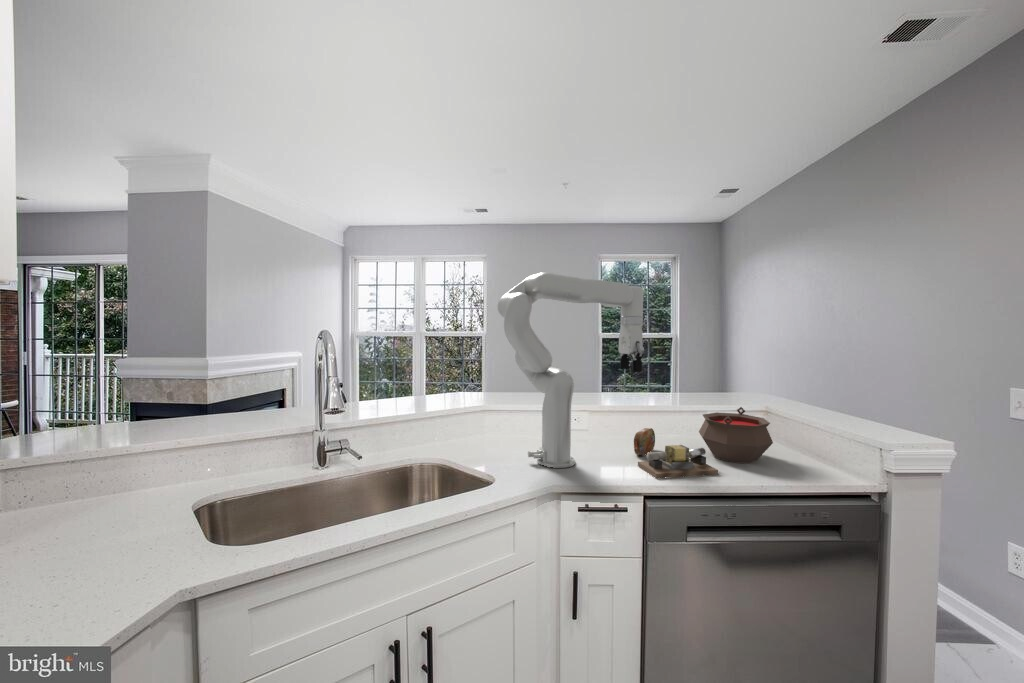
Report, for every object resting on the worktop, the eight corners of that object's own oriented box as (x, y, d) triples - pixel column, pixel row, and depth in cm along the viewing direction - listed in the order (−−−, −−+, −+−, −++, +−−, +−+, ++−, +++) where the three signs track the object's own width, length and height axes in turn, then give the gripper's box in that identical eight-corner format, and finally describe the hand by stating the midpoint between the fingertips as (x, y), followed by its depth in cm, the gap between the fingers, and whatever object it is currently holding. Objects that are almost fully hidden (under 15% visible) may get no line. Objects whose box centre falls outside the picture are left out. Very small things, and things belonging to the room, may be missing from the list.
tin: (640, 458, 158) (640, 434, 157) (631, 456, 160) (632, 433, 159) (655, 449, 170) (656, 426, 169) (647, 447, 171) (648, 425, 171)
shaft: (694, 466, 144) (694, 452, 144) (683, 463, 148) (684, 449, 147) (707, 463, 148) (707, 449, 147) (696, 460, 151) (697, 446, 151)
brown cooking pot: (766, 472, 143) (768, 421, 143) (688, 458, 158) (689, 411, 157) (777, 455, 163) (779, 410, 162) (706, 443, 177) (707, 402, 176)
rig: (656, 478, 137) (656, 458, 137) (637, 466, 149) (638, 447, 149) (718, 474, 141) (718, 455, 141) (695, 462, 153) (696, 444, 153)
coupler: (671, 464, 143) (671, 449, 142) (664, 461, 146) (665, 445, 146) (688, 463, 144) (689, 448, 144) (681, 460, 148) (682, 444, 147)
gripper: (611, 321, 167) (610, 368, 168) (632, 321, 150) (631, 373, 151) (630, 321, 168) (629, 367, 169) (653, 321, 151) (652, 373, 152)
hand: (630, 370), depth 160 cm, fingers open, 9 cm apart
